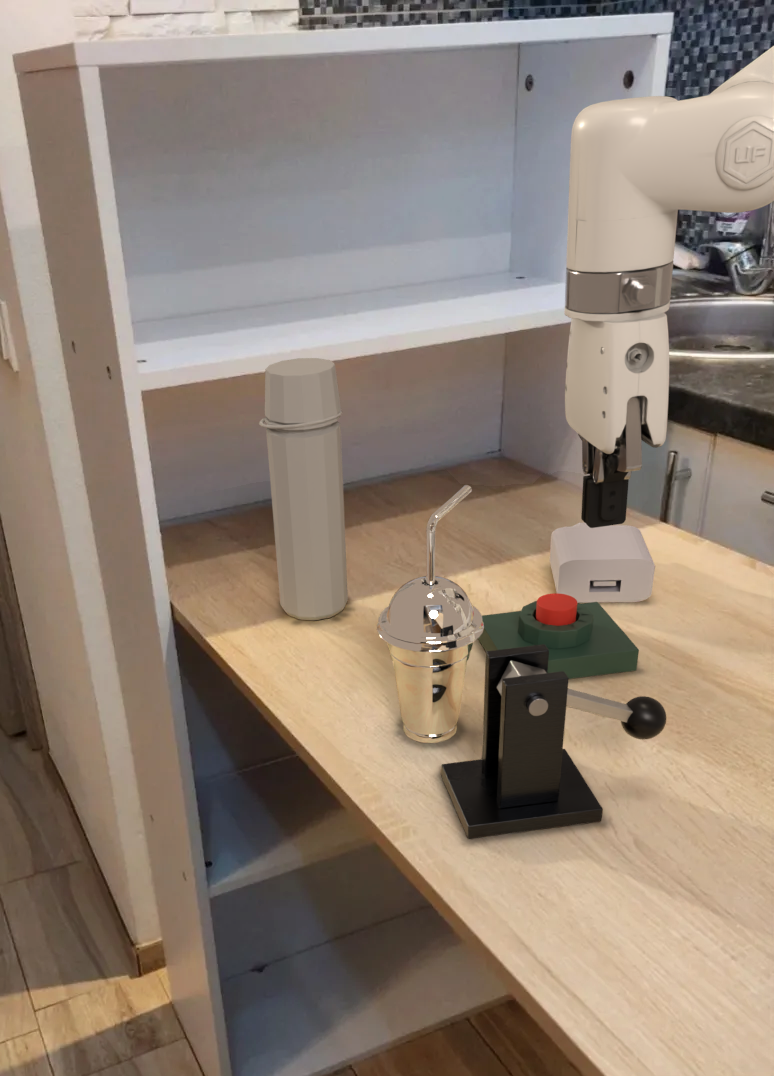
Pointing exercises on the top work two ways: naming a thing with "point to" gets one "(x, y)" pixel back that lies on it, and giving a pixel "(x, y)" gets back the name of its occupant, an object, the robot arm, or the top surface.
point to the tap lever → (606, 706)
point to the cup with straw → (430, 643)
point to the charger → (601, 563)
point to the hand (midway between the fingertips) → (603, 522)
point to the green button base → (565, 640)
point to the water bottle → (307, 486)
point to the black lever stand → (521, 755)
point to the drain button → (556, 609)
